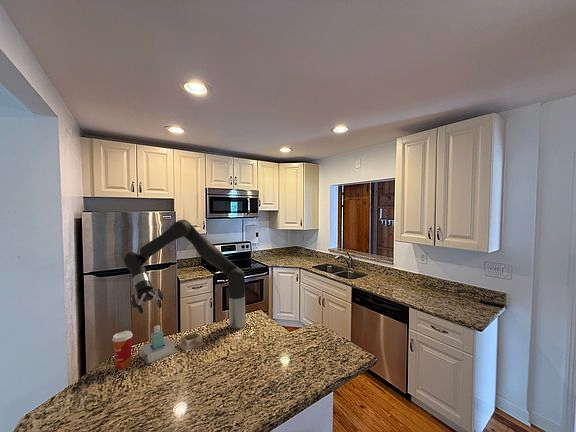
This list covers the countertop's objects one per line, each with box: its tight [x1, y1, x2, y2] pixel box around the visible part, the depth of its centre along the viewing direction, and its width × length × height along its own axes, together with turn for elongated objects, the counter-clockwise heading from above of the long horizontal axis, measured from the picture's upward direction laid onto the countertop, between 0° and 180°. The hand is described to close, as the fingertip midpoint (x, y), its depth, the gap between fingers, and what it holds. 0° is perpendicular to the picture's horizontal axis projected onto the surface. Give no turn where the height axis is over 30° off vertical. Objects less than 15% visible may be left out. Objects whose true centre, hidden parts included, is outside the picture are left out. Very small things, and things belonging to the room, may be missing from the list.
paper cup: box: [111, 330, 134, 370], centre depth 113 cm, size 8×8×14 cm
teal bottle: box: [150, 324, 164, 350], centre depth 121 cm, size 4×4×13 cm
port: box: [139, 337, 176, 367], centre depth 121 cm, size 12×10×5 cm
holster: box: [177, 331, 206, 352], centre depth 129 cm, size 10×10×4 cm
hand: (151, 310), depth 129 cm, fingers open, 8 cm apart
